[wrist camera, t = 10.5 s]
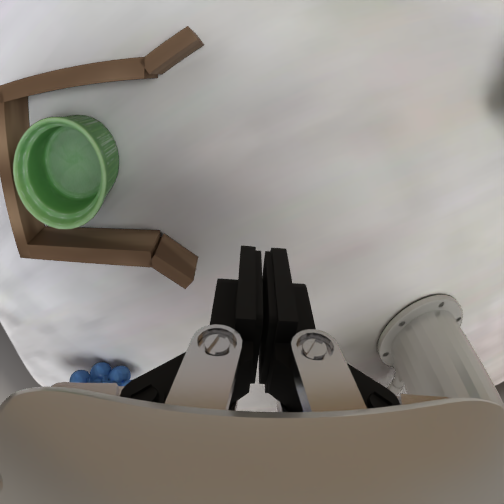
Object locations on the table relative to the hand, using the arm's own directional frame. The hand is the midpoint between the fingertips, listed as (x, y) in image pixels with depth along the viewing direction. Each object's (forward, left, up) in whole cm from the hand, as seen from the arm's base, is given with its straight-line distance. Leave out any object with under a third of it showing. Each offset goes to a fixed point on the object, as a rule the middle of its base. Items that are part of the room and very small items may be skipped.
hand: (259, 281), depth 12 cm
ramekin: (+1, +15, -15) cm, 21 cm away
